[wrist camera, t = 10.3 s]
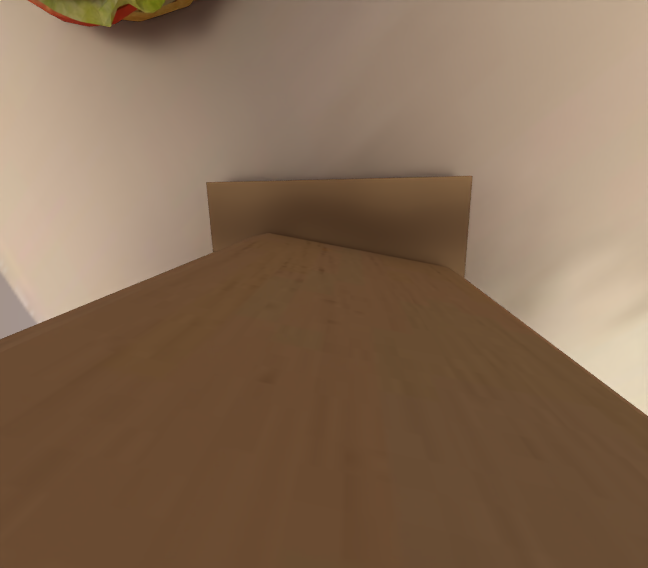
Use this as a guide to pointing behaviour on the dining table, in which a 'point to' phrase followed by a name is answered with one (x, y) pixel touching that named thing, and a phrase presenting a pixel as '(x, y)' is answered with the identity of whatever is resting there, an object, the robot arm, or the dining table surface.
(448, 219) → the board
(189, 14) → the dining table surface
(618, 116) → the dining table surface
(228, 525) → the wooden block
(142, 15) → the food
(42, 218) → the dining table surface
